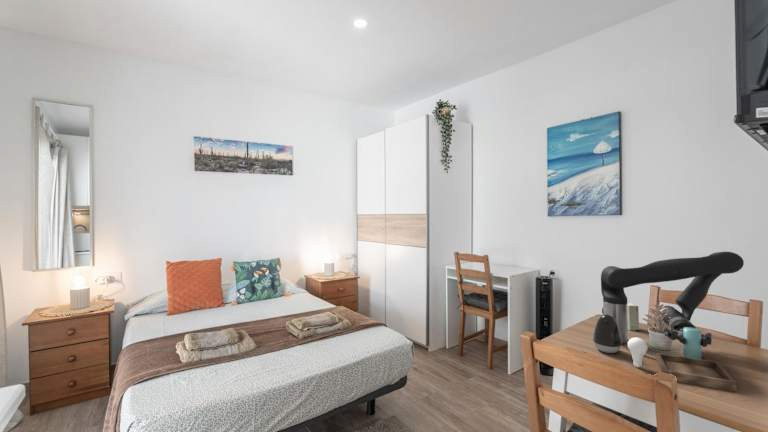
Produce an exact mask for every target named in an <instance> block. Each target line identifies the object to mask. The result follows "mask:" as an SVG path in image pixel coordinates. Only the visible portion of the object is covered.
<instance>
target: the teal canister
mask: <svg viewBox="0 0 768 432" xmlns="http://www.w3.org/2000/svg"><path fill="white" fill-rule="evenodd" d="M701 333H702V330H701V329H700V328H697V327H696V328H692V327H684V328H683V336H684V337H685V339H686V345H685V344H683V357H686V358H689V359H693V360H703V358H702V357H703V355H702V354H703V351H702V350H703V349H702V347H703V346H702V344H701Z"/></svg>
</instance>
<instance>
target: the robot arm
mask: <svg viewBox="0 0 768 432" xmlns="http://www.w3.org/2000/svg"><path fill="white" fill-rule="evenodd" d="M744 262H745V261H744V259H743V257H742V256H741V255H740V254H738V253H735V252H732V251H717V252H713V253H710V254H709V255H707V256H701V257H683V258H682V257H681V258H680V257H679V258H669V259H662V260H658V261H653V262H651V263H647V264H646V265H643V266H639V267H630V268H621V267H619V266H613V265H609V266H606V267H604V268H603V270H602V271H601V273H600V286H601V287H600V291H601V296H602V301H603V302H602V308H603V314H602V315H610V316H612V317H613V318H614V320H615V321H616V323H617V325H618V328H619V331H620V335H621V340H622V344H627V343H628V341H629V340H628V339H629V332H628V331H629V329H628V312H627V303H628V297H627V295H626V293H625V290H624V289H625V288H629V287H633V286H639V285H643V284H652V283H653V284H655V283H665V282H674V281H680V280H686V279H691V278H693V279H692V281H690V283H689V284H688V285H687V286H686V287H685V288H684V290H683V291H682V292H681V293H680V294H679V295H678V297H676V299H675V303H676V305H677V306H678V307H679V308H680V309H681V311H680V310H678V309H676V308H675V307H674V306H672V305H663V306H664V307H665V308H668V312H667V315H666V316H665V317H664V318H663V321H662V322H664V323H665V324H666V325H667V326H668V327H669V328H666V327H665V328H664V336H665V337H667V338H668V339H670V340H672V341H675V340H677V341H678V342H680V343H682V345H684V344H685V345H686V339H685V337H684V336H683V328H684V327H692V328H697V327H696V326H695V325H694V324H693V323H692V322H691V320H692V316H693V315H694V312H695V310H696V309H697V308H698V306H700V305H701V303H702V302H703V301H704V300H705V298H706V297H707V295H708V293H709V291H710V287H711V285H712V284H713V282H714V281H716V280H717V278H719V277H721V275H722V274H724V275H725V274H735V273H737V272H739V271H740V270H741V269H742V268H743V267H744V264H745V263H744ZM669 317H671V318H670V319H671V320H670V319H669ZM668 320H669V321H668ZM712 339H713V338H712V333H709V332H708V333H705V334H702V332H701V344H702V347H703V348H706V347H708V345H712ZM626 342H627V343H626Z"/></svg>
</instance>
